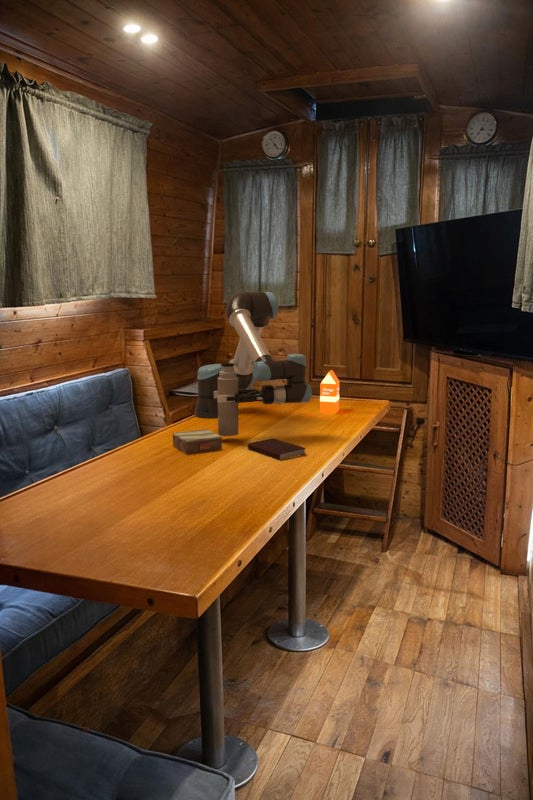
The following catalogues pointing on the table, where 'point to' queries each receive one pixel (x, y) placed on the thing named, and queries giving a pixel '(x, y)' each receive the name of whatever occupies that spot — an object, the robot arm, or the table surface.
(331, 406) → the orange juice
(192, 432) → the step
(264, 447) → the book
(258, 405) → the table surface
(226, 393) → the thermos bottle
